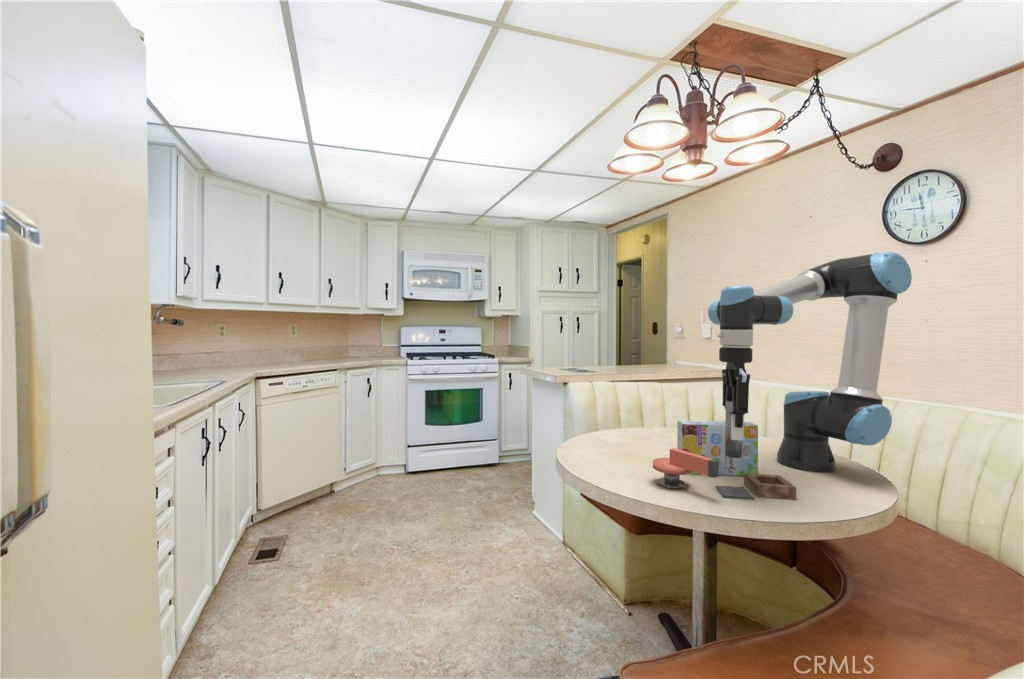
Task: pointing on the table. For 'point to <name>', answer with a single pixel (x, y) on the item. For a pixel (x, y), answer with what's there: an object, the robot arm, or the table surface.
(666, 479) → the wheel post
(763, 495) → the block
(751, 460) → the snack box
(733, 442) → the silver metal cylinder
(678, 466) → the grey-tipped salmon bar
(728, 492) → the pad
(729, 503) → the table surface
